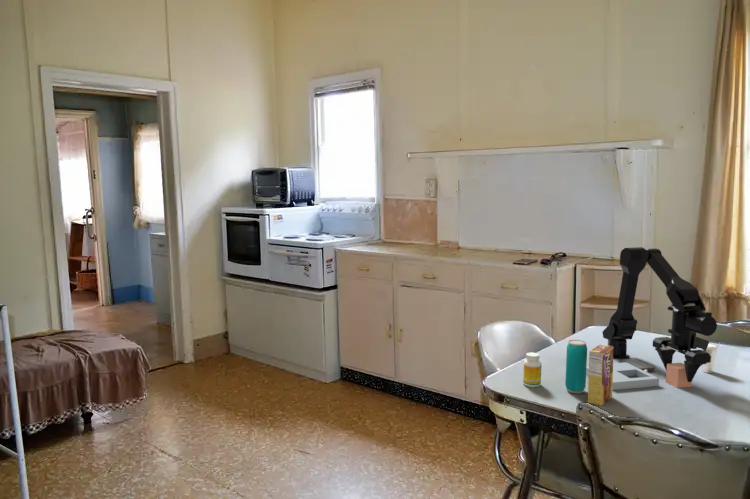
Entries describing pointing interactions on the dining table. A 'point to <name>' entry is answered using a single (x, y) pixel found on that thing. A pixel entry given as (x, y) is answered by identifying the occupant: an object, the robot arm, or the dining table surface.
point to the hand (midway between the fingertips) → (678, 376)
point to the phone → (639, 364)
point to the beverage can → (576, 366)
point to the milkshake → (712, 351)
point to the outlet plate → (630, 377)
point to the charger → (677, 375)
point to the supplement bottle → (532, 370)
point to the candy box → (600, 374)
